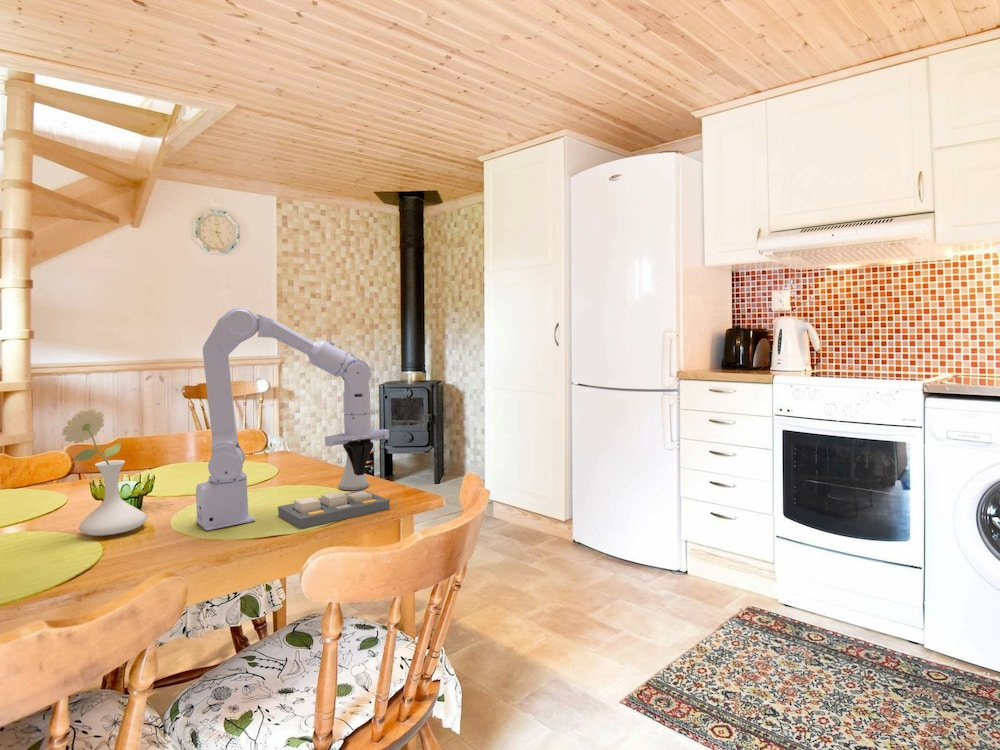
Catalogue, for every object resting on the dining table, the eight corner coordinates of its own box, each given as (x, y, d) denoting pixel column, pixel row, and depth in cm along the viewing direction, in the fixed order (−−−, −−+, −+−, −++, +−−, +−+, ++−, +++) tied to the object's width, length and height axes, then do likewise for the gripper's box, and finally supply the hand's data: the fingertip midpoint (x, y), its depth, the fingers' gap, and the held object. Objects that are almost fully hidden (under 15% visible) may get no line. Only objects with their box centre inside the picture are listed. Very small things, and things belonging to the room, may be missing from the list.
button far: (355, 507, 132) (355, 498, 132) (347, 503, 135) (347, 494, 135) (372, 503, 135) (372, 494, 134) (363, 500, 138) (363, 491, 137)
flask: (332, 489, 151) (331, 449, 150) (352, 483, 157) (351, 444, 157) (355, 492, 147) (354, 452, 147) (374, 485, 154) (373, 447, 153)
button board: (300, 529, 120) (300, 518, 120) (278, 515, 129) (278, 505, 129) (389, 509, 133) (389, 499, 133) (363, 498, 142) (363, 489, 142)
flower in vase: (134, 519, 128) (127, 401, 127) (156, 529, 121) (150, 405, 119) (60, 535, 118) (52, 408, 117) (80, 547, 111) (72, 412, 109)
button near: (302, 513, 124) (301, 504, 124) (294, 509, 127) (294, 500, 127) (320, 509, 127) (320, 500, 127) (312, 505, 130) (312, 496, 130)
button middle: (329, 507, 128) (329, 498, 128) (321, 504, 131) (321, 494, 131) (347, 504, 131) (347, 495, 130) (339, 500, 134) (338, 491, 134)
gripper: (334, 418, 126) (336, 483, 127) (395, 412, 135) (396, 472, 136) (320, 415, 131) (322, 477, 132) (379, 409, 140) (381, 467, 141)
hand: (359, 474), depth 134 cm, fingers closed
